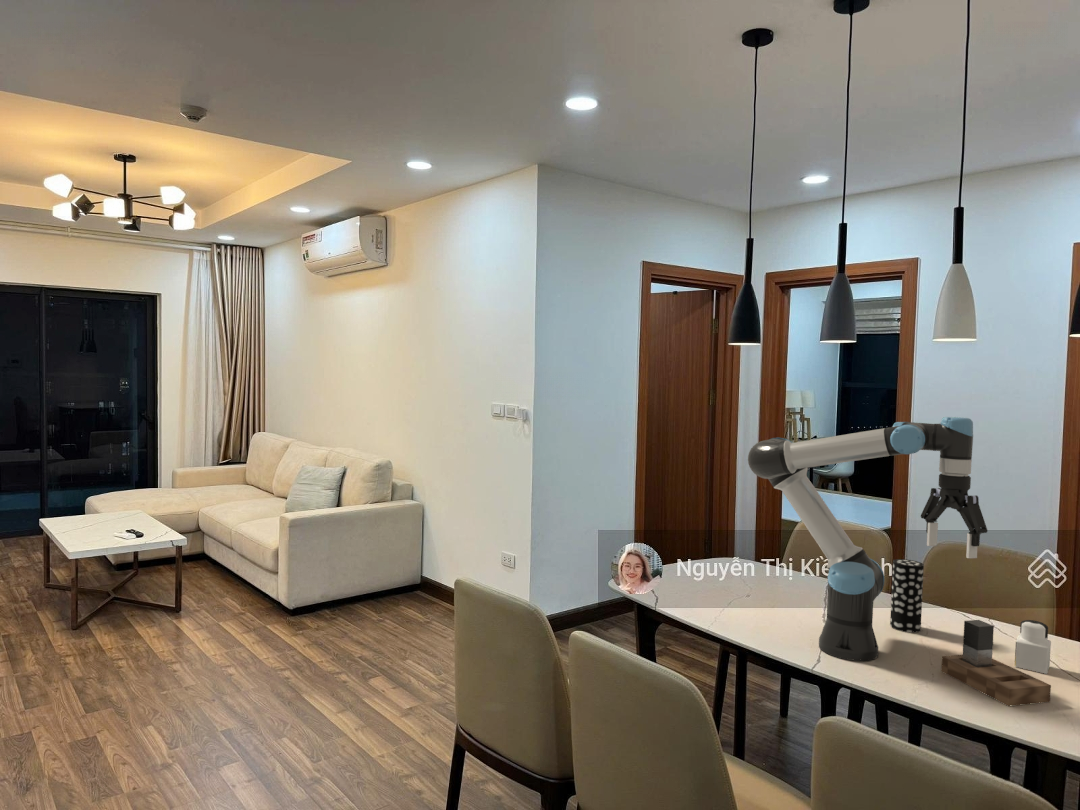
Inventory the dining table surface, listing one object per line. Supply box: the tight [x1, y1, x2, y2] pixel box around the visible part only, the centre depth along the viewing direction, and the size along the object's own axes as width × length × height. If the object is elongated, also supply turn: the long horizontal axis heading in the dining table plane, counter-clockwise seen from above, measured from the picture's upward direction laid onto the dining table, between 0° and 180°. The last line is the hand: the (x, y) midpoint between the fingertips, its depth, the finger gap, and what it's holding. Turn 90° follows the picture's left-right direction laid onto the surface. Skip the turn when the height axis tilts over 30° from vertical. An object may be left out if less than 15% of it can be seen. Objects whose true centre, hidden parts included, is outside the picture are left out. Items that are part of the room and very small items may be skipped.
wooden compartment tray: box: [940, 653, 1052, 707], centre depth 178 cm, size 12×20×4 cm, turn 14°
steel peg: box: [962, 619, 995, 668], centre depth 183 cm, size 4×4×14 cm
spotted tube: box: [889, 558, 925, 633], centre depth 218 cm, size 8×8×20 cm
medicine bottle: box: [1014, 619, 1052, 675], centre depth 191 cm, size 7×7×12 cm
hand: (951, 551), depth 196 cm, fingers open, 13 cm apart
